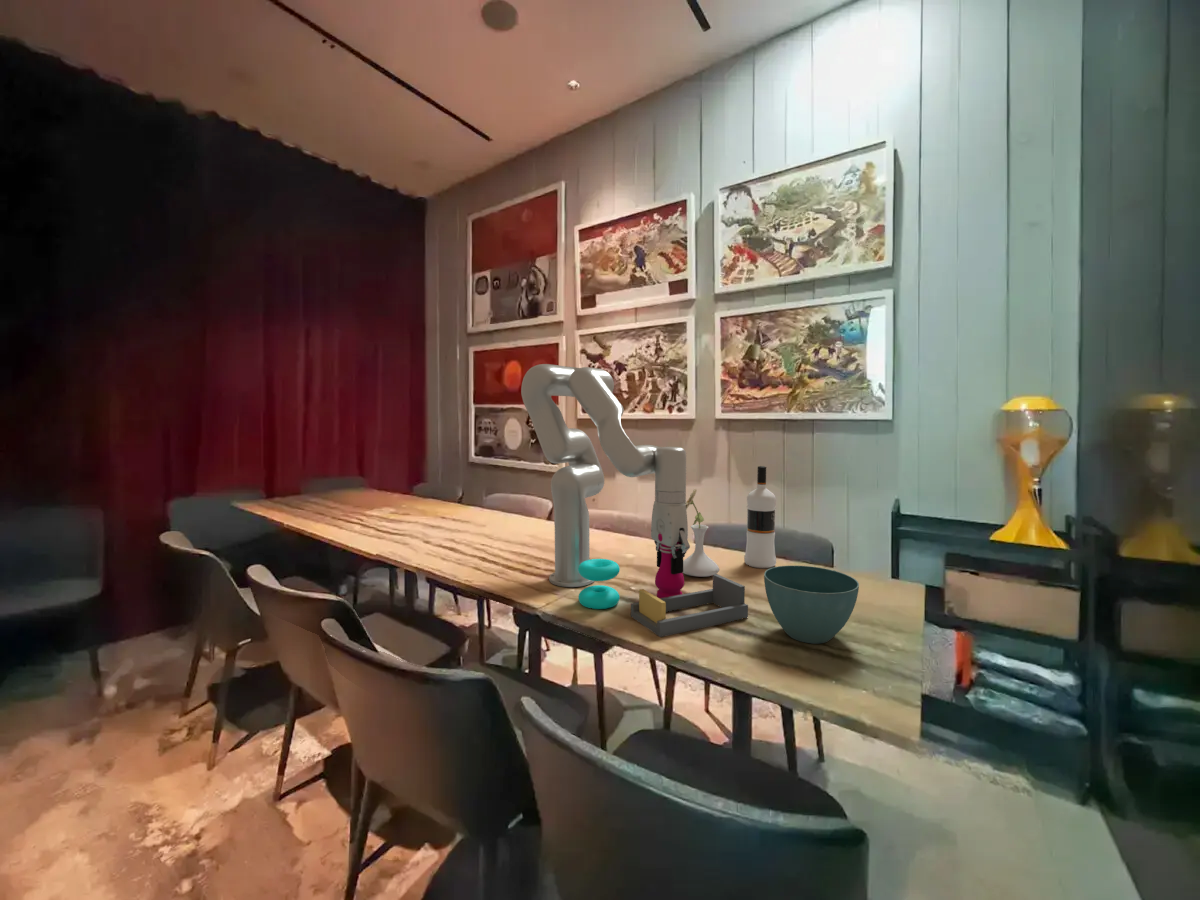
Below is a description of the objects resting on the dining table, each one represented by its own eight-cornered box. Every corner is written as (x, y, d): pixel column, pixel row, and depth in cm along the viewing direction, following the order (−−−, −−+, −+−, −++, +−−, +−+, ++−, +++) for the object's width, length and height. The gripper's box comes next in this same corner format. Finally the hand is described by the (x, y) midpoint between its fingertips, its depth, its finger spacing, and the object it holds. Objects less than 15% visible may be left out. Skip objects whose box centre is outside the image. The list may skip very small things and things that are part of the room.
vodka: (740, 560, 168) (742, 464, 166) (770, 560, 168) (772, 464, 166) (749, 569, 159) (751, 467, 156) (780, 569, 159) (783, 467, 157)
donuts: (615, 556, 136) (623, 567, 126) (615, 595, 137) (623, 609, 127) (576, 558, 134) (580, 569, 124) (576, 597, 135) (581, 612, 125)
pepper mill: (676, 606, 129) (677, 523, 127) (649, 600, 133) (650, 520, 131) (688, 597, 135) (689, 518, 133) (662, 592, 139) (663, 515, 137)
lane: (630, 616, 122) (630, 586, 122) (713, 600, 132) (713, 572, 132) (660, 637, 111) (660, 604, 111) (747, 618, 121) (748, 587, 121)
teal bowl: (846, 622, 119) (847, 568, 118) (867, 659, 101) (869, 595, 100) (760, 615, 123) (761, 562, 122) (766, 650, 105) (767, 588, 104)
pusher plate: (639, 615, 122) (639, 589, 121) (642, 614, 122) (643, 588, 122) (661, 630, 113) (661, 603, 113) (665, 630, 114) (665, 602, 113)
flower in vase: (689, 566, 162) (690, 483, 160) (725, 572, 155) (727, 486, 153) (668, 577, 151) (669, 488, 149) (706, 584, 145) (707, 492, 143)
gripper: (639, 493, 138) (639, 562, 139) (677, 504, 123) (676, 581, 124) (664, 491, 141) (663, 559, 143) (704, 501, 126) (703, 577, 127)
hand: (669, 569), depth 133 cm, fingers open, 5 cm apart
